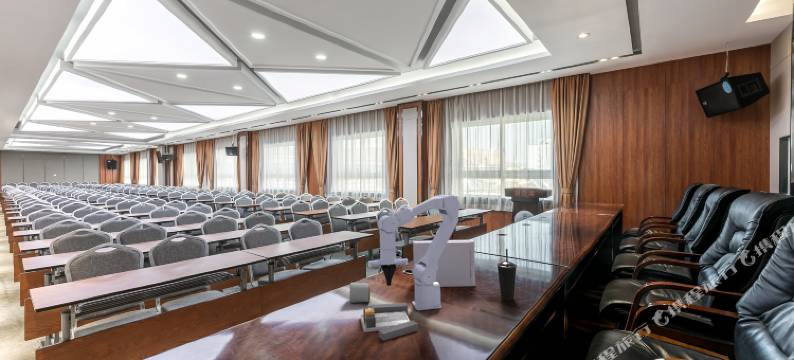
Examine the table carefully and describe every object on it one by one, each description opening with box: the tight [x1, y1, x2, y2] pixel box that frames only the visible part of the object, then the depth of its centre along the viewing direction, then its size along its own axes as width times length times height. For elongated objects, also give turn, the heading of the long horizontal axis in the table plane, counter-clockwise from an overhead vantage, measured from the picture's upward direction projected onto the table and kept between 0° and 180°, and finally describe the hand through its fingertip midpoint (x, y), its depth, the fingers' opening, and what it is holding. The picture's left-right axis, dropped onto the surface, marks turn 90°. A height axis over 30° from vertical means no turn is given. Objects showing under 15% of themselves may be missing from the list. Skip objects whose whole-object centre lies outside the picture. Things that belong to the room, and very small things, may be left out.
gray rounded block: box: [349, 282, 371, 304], centre depth 143 cm, size 11×8×8 cm
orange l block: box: [365, 308, 375, 321], centre depth 120 cm, size 3×3×4 cm
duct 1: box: [371, 302, 409, 314], centre depth 130 cm, size 13×3×3 cm, turn 96°
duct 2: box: [378, 320, 419, 342], centre depth 113 cm, size 13×3×2 cm, turn 121°
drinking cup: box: [496, 248, 518, 302], centre depth 140 cm, size 8×8×20 cm
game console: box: [412, 239, 476, 288], centre depth 159 cm, size 6×27×20 cm, turn 89°
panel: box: [360, 305, 411, 333], centre depth 121 cm, size 16×11×4 cm
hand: (388, 285), depth 130 cm, fingers closed
